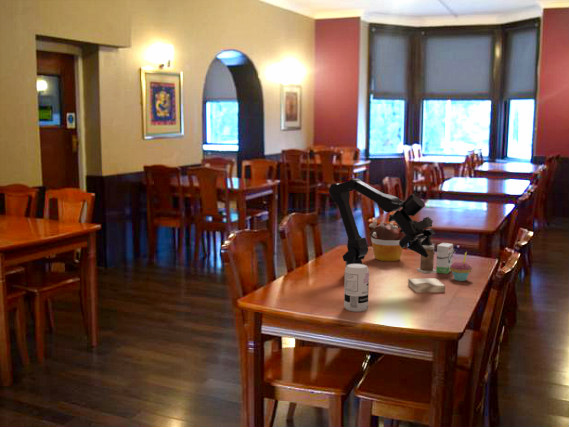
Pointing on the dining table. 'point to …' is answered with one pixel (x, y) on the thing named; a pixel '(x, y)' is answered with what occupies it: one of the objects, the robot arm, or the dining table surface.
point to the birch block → (426, 285)
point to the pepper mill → (427, 261)
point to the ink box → (444, 258)
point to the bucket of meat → (386, 241)
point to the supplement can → (356, 287)
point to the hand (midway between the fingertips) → (430, 255)
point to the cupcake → (460, 270)
